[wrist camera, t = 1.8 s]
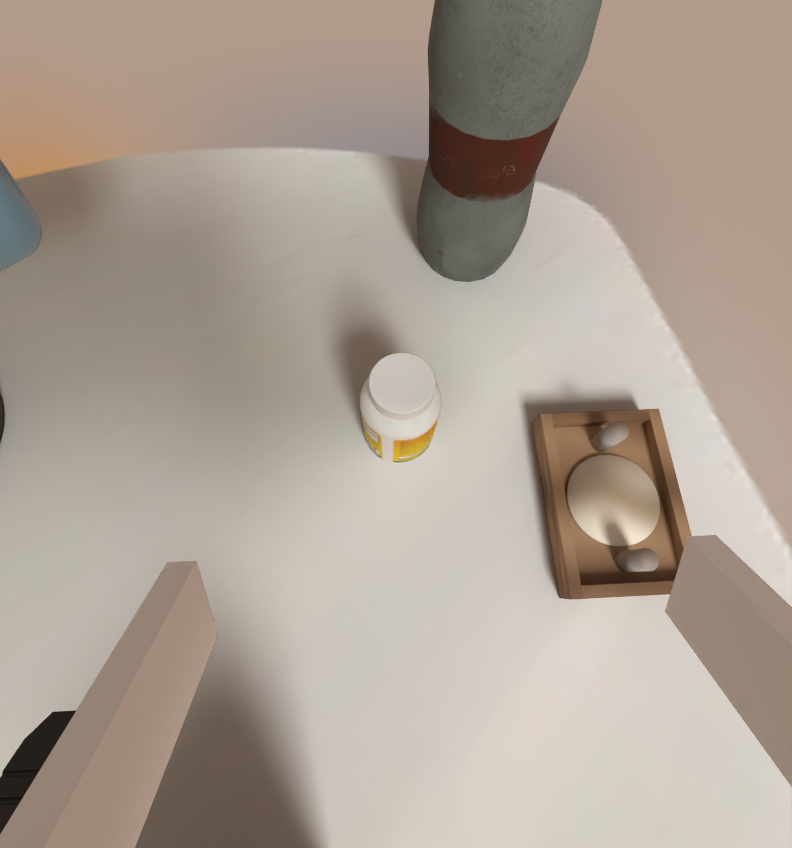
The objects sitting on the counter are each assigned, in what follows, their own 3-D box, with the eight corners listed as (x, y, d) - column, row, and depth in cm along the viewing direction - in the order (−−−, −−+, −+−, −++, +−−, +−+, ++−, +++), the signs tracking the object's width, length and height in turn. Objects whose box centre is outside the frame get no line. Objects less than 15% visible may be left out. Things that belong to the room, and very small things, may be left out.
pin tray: (685, 591, 32) (727, 592, 28) (559, 598, 31) (583, 600, 27) (643, 418, 36) (674, 398, 32) (532, 423, 36) (549, 404, 32)
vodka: (467, 192, 44) (604, -527, 15) (535, 250, 41) (844, -467, 13) (394, 241, 42) (396, -482, 13) (461, 306, 39) (637, -401, 11)
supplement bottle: (354, 451, 35) (341, 406, 26) (378, 392, 37) (374, 330, 27) (420, 474, 34) (430, 436, 25) (441, 413, 36) (458, 357, 27)
